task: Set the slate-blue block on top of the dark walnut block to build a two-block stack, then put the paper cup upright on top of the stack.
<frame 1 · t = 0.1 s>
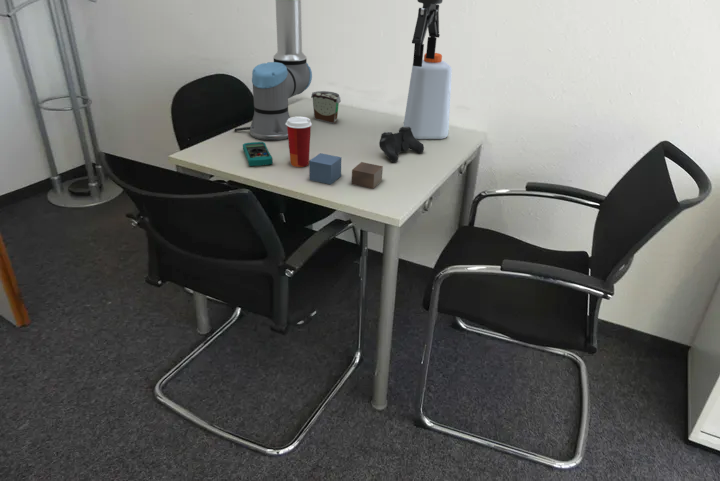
hand: (423, 62, 167), 28 cm above the table, tool pointing down, fingers open, 13 cm apart
game controller: (399, 155, 174), on the table
plastic bottle: (425, 133, 194), on the table
walnut block: (366, 182, 153), on the table
slate block: (325, 178, 155), on the table
food container: (328, 119, 203), on the table
paper cup: (299, 164, 164), on the table
digital multimeter: (257, 158, 166), on the table
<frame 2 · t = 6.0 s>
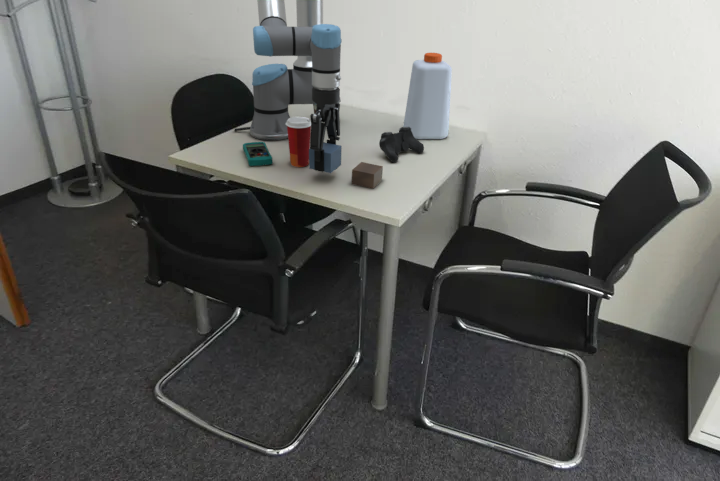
hand: (325, 165, 153), 4 cm above the table, tool pointing down, fingers closed on slate block, 7 cm apart
slate block: (325, 166, 153), point 3 cm above the table, touching gripper
everything else where it was.
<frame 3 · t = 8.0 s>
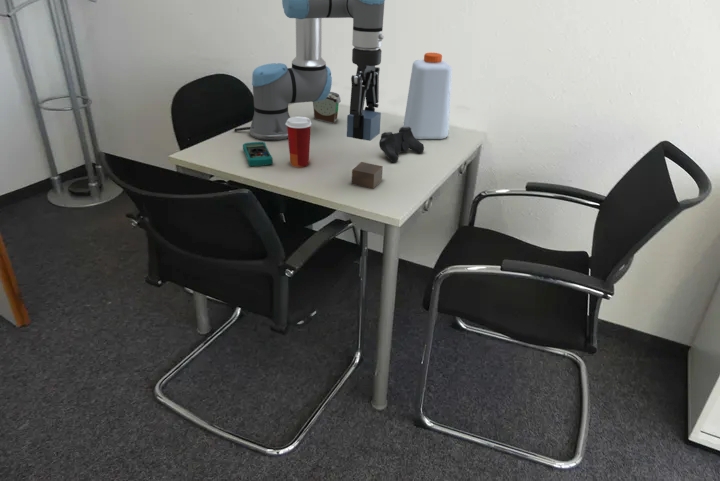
hand: (363, 134, 146), 14 cm above the table, tool pointing down, fingers closed on slate block, 7 cm apart
slate block: (363, 135, 146), point 14 cm above the table, touching gripper
everything else where it was.
when the fingers open (5 cm above the table, at t = 10.4 s): slate block stays where it is, resting on walnut block.
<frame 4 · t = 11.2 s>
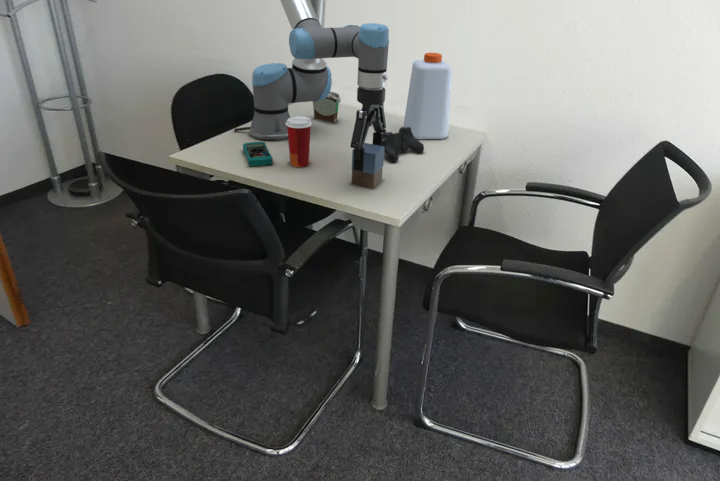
hand: (367, 162, 150), 6 cm above the table, tool pointing down, fingers open, 13 cm apart
walnut block: (366, 182, 153), on the table, touching slate block
slate block: (367, 167, 151), point 4 cm above the table, touching walnut block
everything else where it was.
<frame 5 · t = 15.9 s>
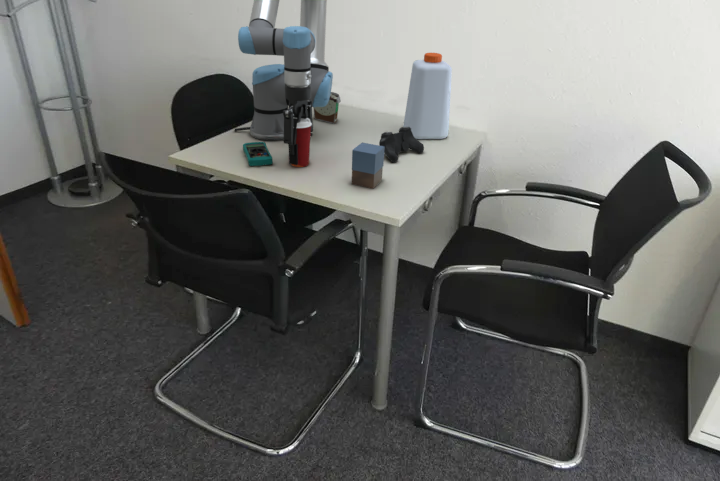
hand: (299, 159, 163), 1 cm above the table, tool pointing down, fingers closed on paper cup, 6 cm apart
paper cup: (299, 164, 164), on the table, touching gripper
everything else where it was.
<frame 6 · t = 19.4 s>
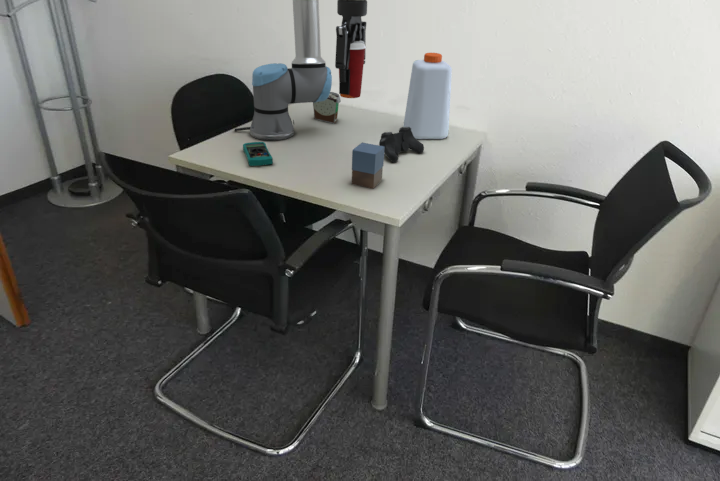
hand: (350, 91, 143), 25 cm above the table, tool pointing down, fingers closed on paper cup, 6 cm apart
paper cup: (349, 96, 144), point 24 cm above the table, touching gripper
everything else where it was.
when the fingers open (12 cm above the table, at t = 23.3 s): paper cup stays where it is, resting on slate block.
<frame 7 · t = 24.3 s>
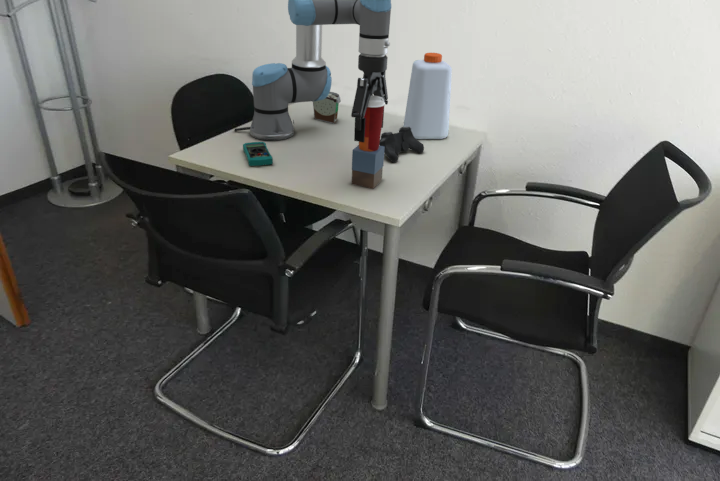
hand: (369, 134, 146), 15 cm above the table, tool pointing down, fingers open, 13 cm apart
slate block: (367, 168, 151), point 4 cm above the table, touching paper cup, walnut block
paper cup: (368, 148, 148), point 10 cm above the table, touching slate block
everything else where it was.
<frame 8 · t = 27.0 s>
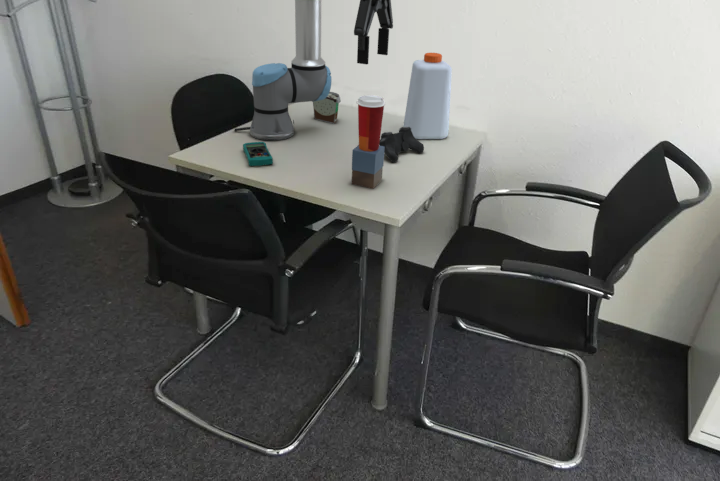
hand: (372, 59, 136), 35 cm above the table, tool pointing down, fingers open, 13 cm apart
nothing on the table moved.
at the end: slate block 0.0 cm off-centre on the walnut block, point 4.5 cm above the walnut block's base; paper cup 0.1 cm off-centre on the walnut block, point 10.3 cm above the walnut block's base; paper cup tilted 0° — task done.
